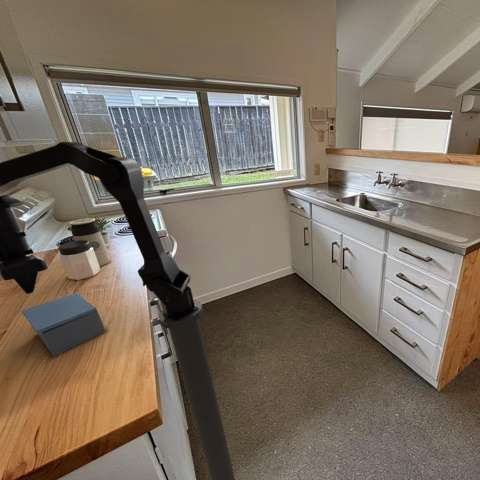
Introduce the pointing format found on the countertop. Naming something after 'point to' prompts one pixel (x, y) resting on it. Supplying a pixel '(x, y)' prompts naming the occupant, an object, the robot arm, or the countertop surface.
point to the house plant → (104, 234)
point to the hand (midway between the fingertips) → (29, 292)
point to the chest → (72, 333)
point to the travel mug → (90, 237)
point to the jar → (79, 259)
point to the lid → (58, 312)
